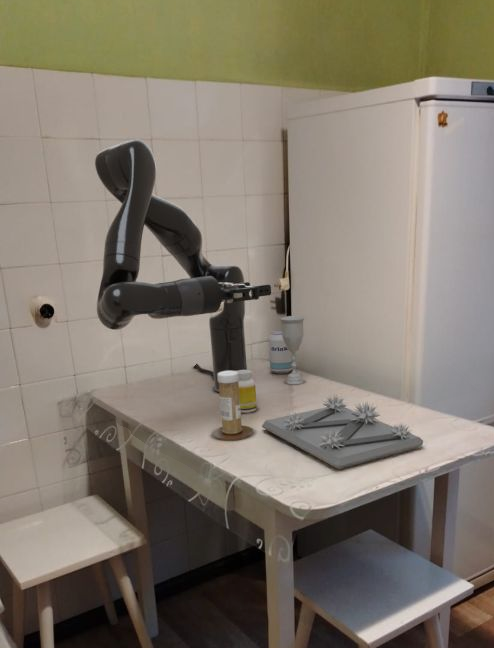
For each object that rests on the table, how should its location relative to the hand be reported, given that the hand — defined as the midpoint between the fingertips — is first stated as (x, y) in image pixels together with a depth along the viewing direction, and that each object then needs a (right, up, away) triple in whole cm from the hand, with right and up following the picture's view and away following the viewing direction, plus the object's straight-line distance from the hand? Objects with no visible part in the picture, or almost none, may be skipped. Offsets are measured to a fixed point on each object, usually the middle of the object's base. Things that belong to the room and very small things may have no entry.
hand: (259, 288), depth 141 cm
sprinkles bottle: (-6, -32, +1) cm, 32 cm away
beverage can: (+6, -12, +53) cm, 55 cm away
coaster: (-6, -32, +1) cm, 33 cm away
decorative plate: (+17, -34, -6) cm, 38 cm away
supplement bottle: (-4, -26, +17) cm, 31 cm away
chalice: (+9, -17, +41) cm, 45 cm away
